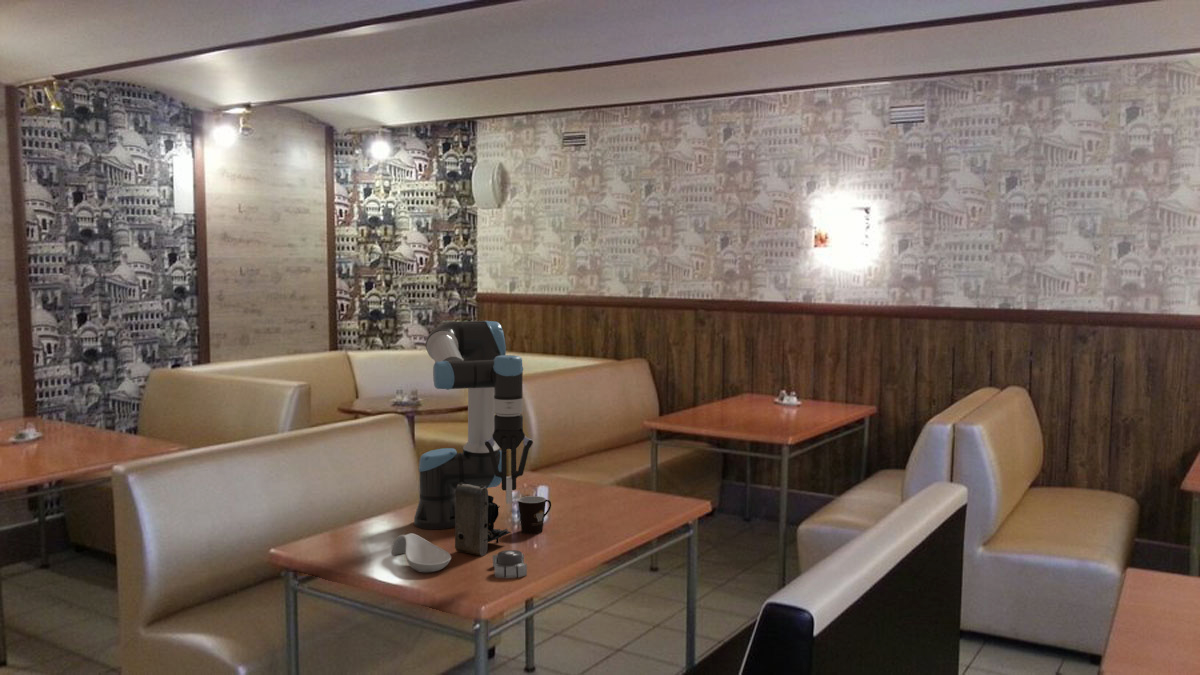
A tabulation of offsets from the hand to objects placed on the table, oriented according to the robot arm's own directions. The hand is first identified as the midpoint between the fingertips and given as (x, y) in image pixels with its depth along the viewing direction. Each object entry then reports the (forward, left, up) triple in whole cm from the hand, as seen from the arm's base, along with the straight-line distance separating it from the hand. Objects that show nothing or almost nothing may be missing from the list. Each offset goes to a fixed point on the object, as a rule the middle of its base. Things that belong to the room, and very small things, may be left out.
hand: (509, 502), depth 241 cm
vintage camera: (-22, -6, -19) cm, 29 cm away
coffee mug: (-37, +11, -19) cm, 43 cm away
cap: (+1, 0, -19) cm, 19 cm away
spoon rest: (-10, -24, -19) cm, 33 cm away
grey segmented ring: (0, 0, -19) cm, 19 cm away
